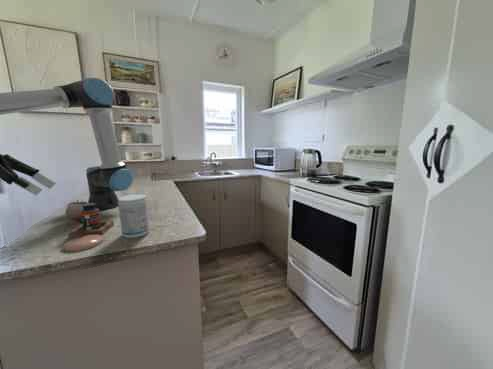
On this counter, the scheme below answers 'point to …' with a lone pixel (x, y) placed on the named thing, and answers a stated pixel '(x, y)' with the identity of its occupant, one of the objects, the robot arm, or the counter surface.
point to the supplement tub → (133, 215)
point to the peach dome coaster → (83, 243)
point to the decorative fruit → (75, 210)
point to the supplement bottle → (90, 217)
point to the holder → (79, 230)
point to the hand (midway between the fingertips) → (46, 189)
